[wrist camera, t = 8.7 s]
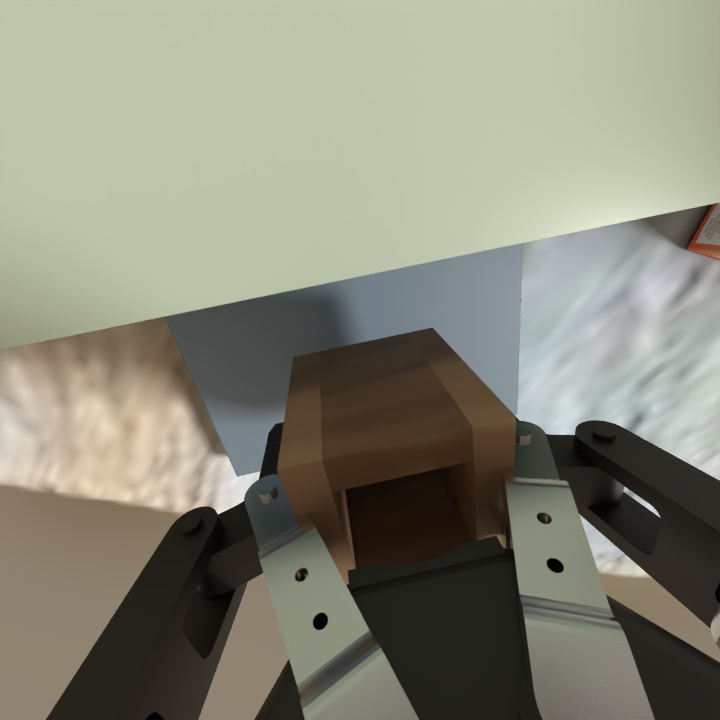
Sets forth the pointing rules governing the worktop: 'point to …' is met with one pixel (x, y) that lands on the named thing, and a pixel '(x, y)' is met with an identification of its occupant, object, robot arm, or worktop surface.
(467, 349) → the base
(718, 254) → the cracker box
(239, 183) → the cover
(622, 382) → the worktop surface
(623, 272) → the worktop surface
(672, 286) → the worktop surface
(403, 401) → the wooden box
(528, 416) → the worktop surface
